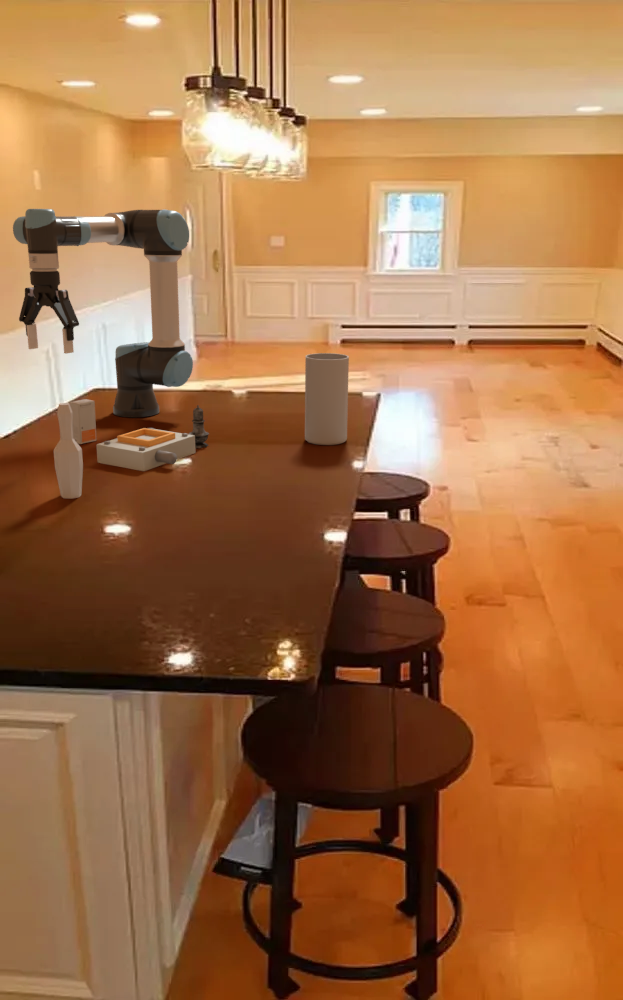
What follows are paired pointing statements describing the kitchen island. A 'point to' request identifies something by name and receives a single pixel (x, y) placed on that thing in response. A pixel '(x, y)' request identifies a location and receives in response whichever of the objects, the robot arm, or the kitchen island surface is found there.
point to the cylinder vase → (326, 398)
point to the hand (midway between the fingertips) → (50, 350)
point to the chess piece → (199, 428)
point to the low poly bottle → (68, 456)
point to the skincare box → (83, 421)
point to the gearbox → (145, 449)
